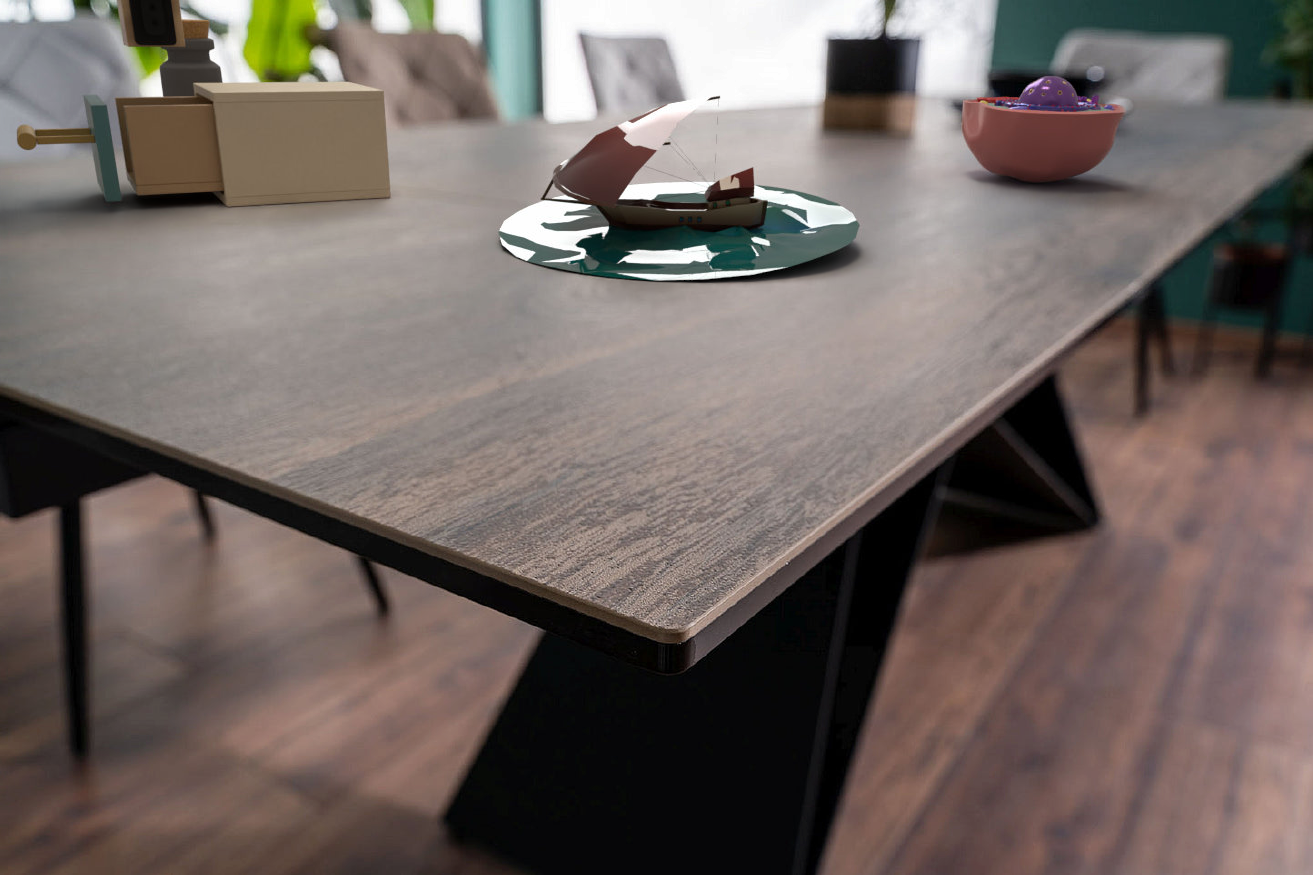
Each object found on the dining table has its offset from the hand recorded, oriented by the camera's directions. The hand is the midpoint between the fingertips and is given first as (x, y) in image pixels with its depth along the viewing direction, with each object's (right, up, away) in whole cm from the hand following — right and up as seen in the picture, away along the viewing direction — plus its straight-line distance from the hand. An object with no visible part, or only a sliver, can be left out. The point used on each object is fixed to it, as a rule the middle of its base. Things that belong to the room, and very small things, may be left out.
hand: (152, 41), depth 93 cm
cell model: (+86, -5, +30) cm, 91 cm away
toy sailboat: (+45, -19, -8) cm, 50 cm away
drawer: (-2, -12, +4) cm, 13 cm away
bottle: (-4, -6, +21) cm, 22 cm away
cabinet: (+9, -11, +10) cm, 17 cm away
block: (0, 0, 0) cm, 0 cm away
